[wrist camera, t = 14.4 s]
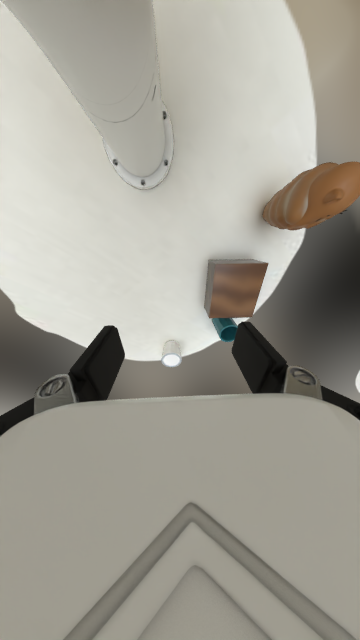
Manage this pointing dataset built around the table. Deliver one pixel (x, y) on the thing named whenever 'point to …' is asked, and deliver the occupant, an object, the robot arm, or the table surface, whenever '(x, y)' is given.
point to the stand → (233, 287)
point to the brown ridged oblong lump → (314, 196)
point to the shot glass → (171, 354)
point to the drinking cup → (225, 328)
